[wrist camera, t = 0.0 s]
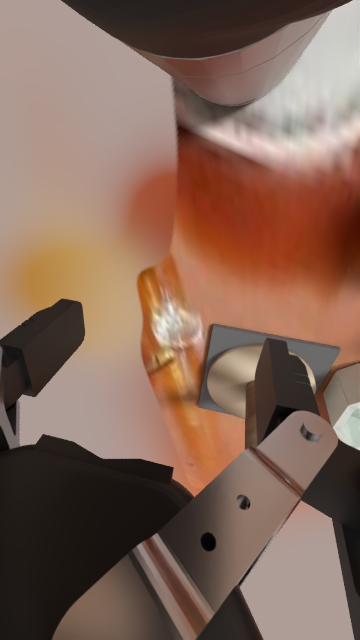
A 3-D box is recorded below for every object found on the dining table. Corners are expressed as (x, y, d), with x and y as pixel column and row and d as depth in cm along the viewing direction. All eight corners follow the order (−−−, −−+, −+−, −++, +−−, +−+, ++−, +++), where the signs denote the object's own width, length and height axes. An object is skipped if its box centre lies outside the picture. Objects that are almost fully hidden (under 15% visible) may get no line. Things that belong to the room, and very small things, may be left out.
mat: (213, 323, 32) (213, 326, 31) (339, 347, 30) (340, 350, 30) (198, 404, 41) (198, 407, 40) (295, 426, 39) (295, 429, 39)
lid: (216, 333, 32) (203, 411, 23) (332, 355, 30) (365, 448, 22) (202, 403, 40) (188, 482, 31) (294, 424, 38) (307, 513, 29)
